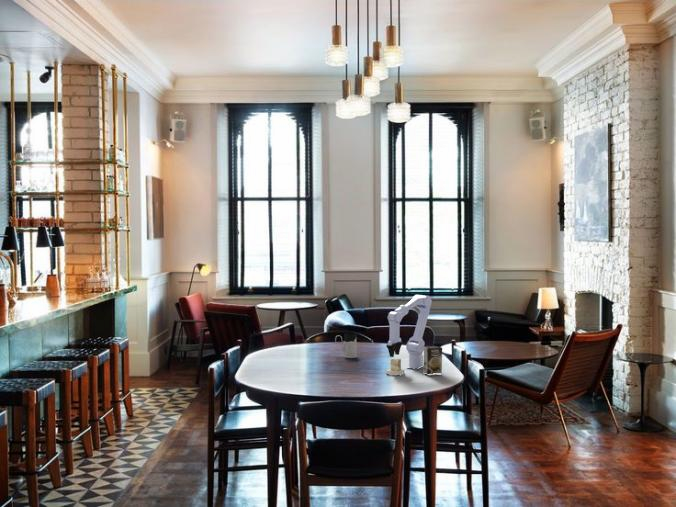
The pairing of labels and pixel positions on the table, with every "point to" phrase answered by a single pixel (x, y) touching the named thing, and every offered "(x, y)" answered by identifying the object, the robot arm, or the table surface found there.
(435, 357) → the coffee box
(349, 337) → the glass holder
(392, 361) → the block
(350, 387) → the table surface
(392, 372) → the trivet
